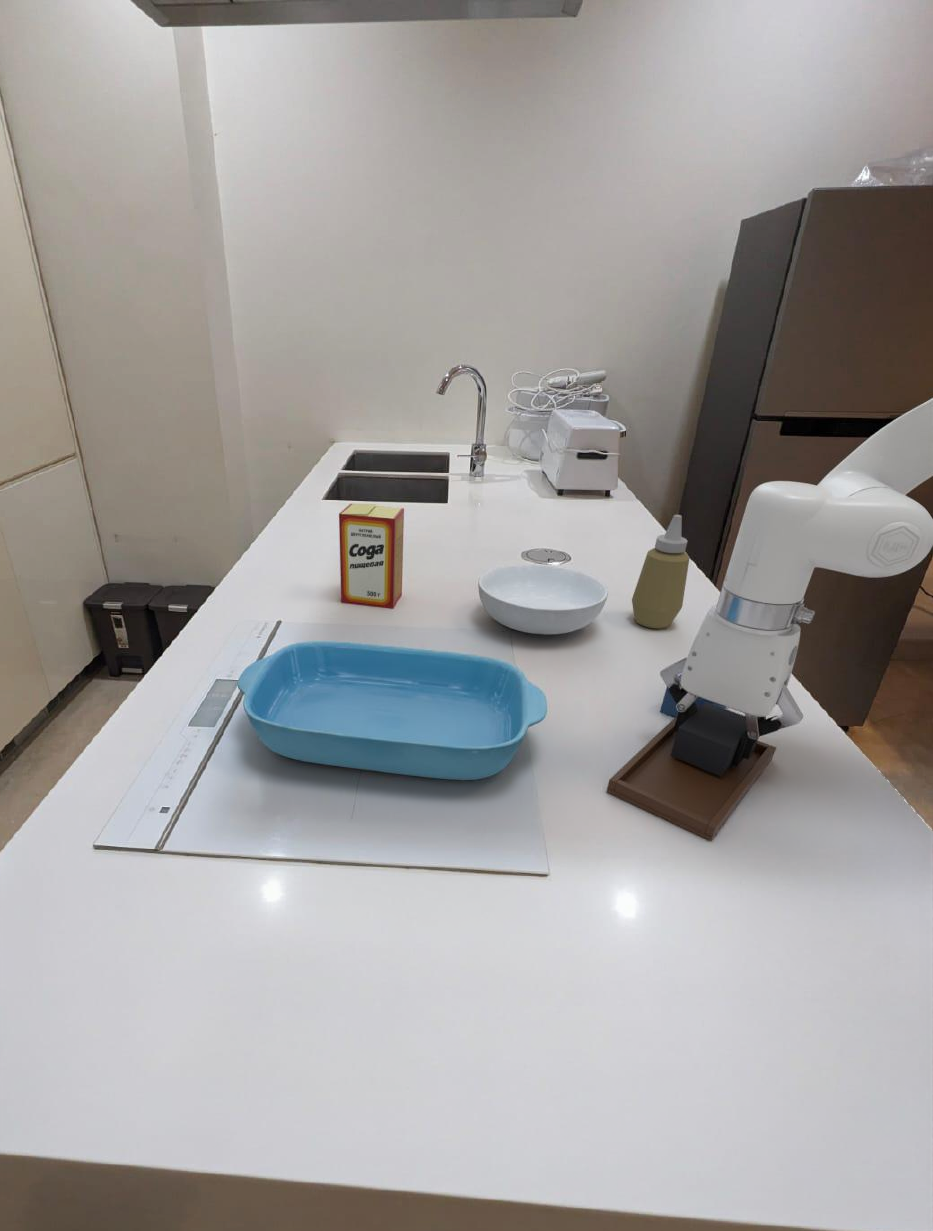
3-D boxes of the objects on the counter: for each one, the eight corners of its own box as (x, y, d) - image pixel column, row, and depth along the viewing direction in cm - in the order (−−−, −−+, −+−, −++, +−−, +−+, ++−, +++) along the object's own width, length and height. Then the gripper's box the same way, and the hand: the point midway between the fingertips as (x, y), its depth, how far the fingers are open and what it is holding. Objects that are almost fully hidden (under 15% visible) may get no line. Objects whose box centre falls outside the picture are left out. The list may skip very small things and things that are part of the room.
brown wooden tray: (772, 759, 81) (776, 747, 80) (710, 841, 68) (715, 828, 67) (677, 723, 87) (681, 711, 86) (606, 792, 75) (609, 779, 74)
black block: (746, 748, 81) (756, 720, 79) (721, 777, 76) (732, 748, 74) (696, 728, 84) (705, 701, 82) (670, 755, 79) (678, 727, 77)
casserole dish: (537, 702, 91) (544, 655, 87) (542, 808, 72) (552, 753, 68) (273, 678, 95) (269, 632, 91) (214, 771, 76) (206, 718, 73)
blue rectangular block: (727, 705, 91) (735, 679, 89) (704, 728, 86) (713, 702, 84) (684, 690, 94) (691, 664, 92) (659, 711, 89) (666, 685, 87)
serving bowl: (621, 620, 114) (629, 582, 111) (563, 663, 101) (571, 621, 97) (515, 589, 125) (519, 553, 122) (450, 625, 112) (453, 585, 108)
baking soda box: (401, 594, 122) (404, 506, 114) (393, 608, 117) (394, 516, 108) (351, 589, 124) (350, 501, 116) (341, 602, 119) (338, 511, 110)
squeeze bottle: (628, 629, 111) (652, 520, 102) (626, 610, 118) (648, 507, 108) (679, 635, 110) (709, 525, 100) (674, 615, 116) (701, 511, 107)
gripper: (858, 621, 68) (796, 765, 77) (689, 577, 77) (653, 710, 87) (839, 644, 63) (776, 795, 73) (661, 594, 73) (627, 733, 82)
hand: (709, 747), depth 80 cm, fingers closed on black block, 6 cm apart
